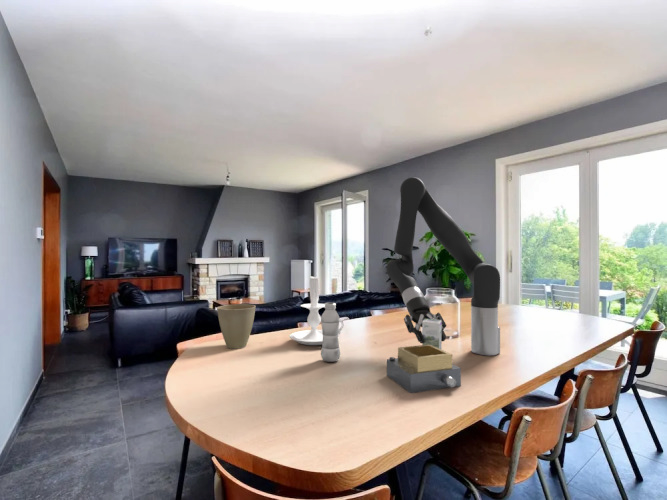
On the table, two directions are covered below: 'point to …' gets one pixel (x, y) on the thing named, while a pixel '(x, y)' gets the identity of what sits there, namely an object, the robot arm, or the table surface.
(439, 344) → the syrup box
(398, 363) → the grey square holder
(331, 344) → the plastic bottle
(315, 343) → the candlestick
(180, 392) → the table surface
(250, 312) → the plant pot
